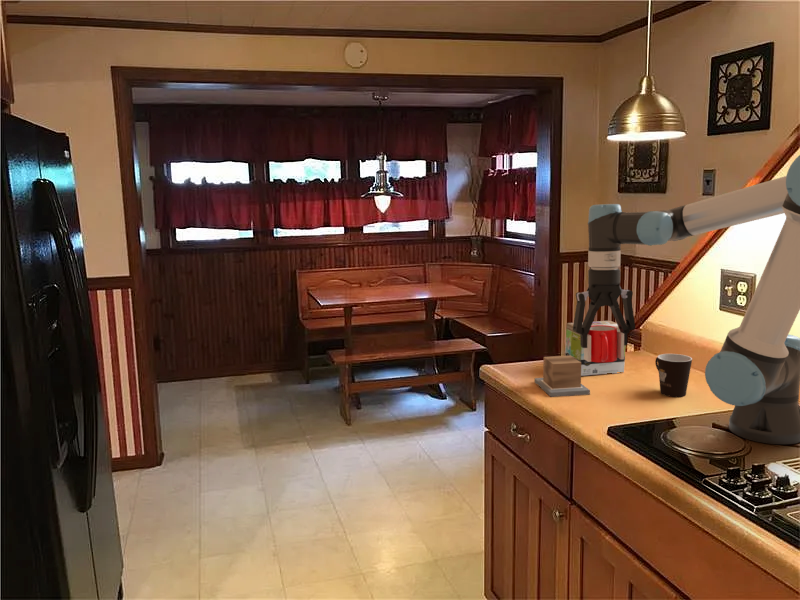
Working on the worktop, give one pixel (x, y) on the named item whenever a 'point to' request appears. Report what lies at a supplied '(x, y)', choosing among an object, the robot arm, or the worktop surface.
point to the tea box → (578, 353)
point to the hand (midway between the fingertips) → (603, 359)
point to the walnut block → (562, 372)
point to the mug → (603, 343)
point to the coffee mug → (673, 374)
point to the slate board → (562, 389)
